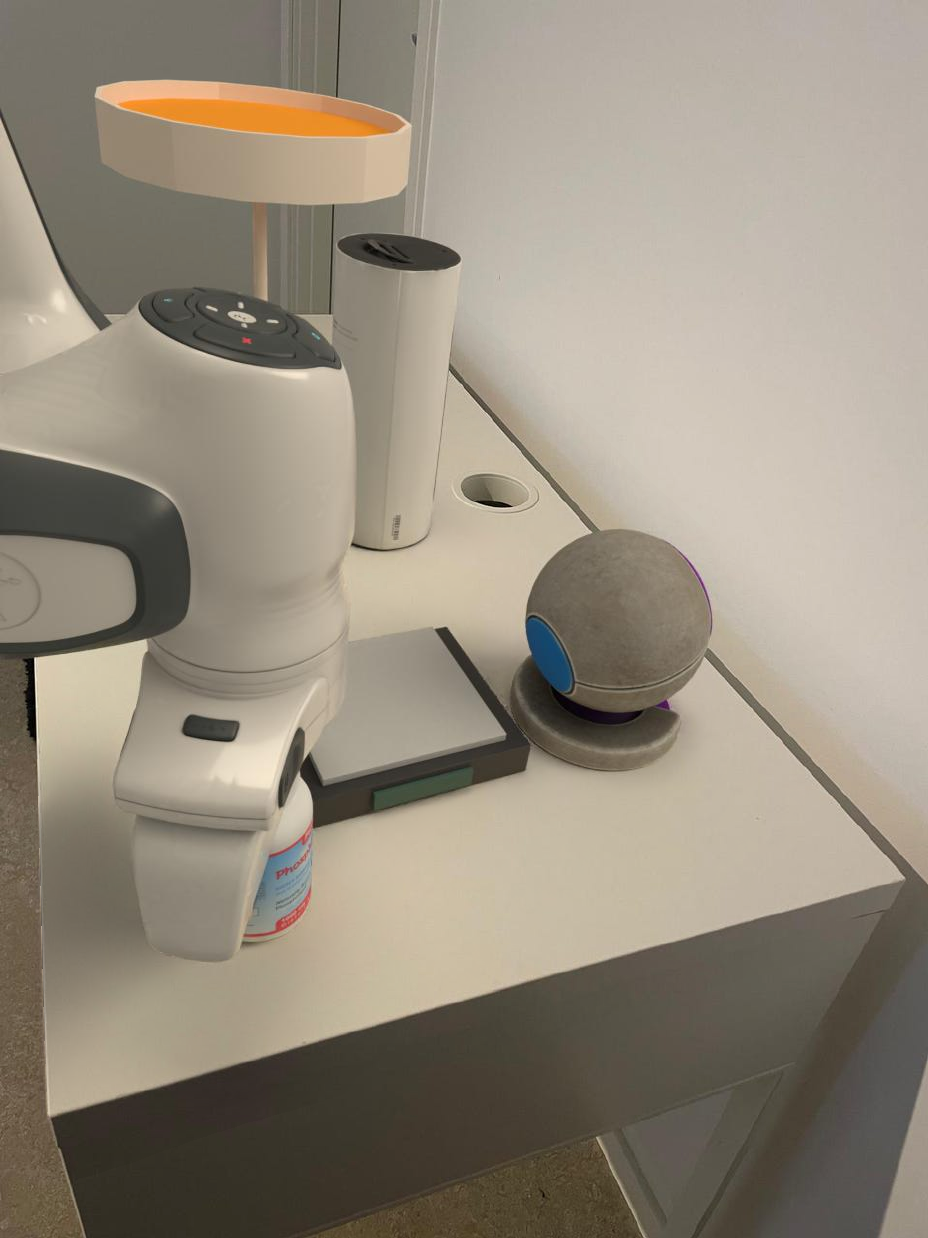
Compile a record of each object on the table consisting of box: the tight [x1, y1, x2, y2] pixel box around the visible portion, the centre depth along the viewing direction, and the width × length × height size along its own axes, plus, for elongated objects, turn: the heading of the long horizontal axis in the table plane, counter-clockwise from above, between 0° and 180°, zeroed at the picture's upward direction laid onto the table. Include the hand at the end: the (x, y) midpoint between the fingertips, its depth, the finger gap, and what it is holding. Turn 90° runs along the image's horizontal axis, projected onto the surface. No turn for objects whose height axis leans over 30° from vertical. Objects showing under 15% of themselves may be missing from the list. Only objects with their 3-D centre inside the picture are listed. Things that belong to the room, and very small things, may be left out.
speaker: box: [331, 232, 463, 551], centre depth 80 cm, size 11×10×26 cm
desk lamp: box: [94, 79, 413, 302], centre depth 96 cm, size 30×30×31 cm
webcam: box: [509, 528, 713, 771], centre depth 65 cm, size 13×13×15 cm
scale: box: [300, 626, 532, 829], centre depth 64 cm, size 16×14×3 cm
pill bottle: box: [242, 770, 314, 943], centre depth 49 cm, size 6×6×11 cm
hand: (256, 854), depth 50 cm, fingers closed on pill bottle, 6 cm apart
